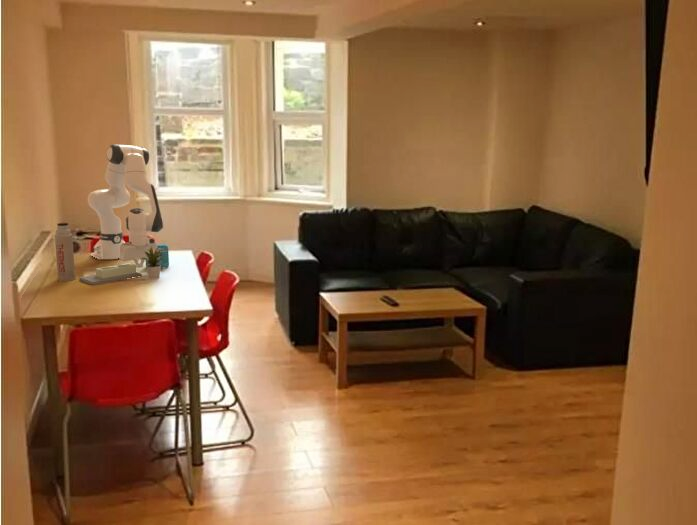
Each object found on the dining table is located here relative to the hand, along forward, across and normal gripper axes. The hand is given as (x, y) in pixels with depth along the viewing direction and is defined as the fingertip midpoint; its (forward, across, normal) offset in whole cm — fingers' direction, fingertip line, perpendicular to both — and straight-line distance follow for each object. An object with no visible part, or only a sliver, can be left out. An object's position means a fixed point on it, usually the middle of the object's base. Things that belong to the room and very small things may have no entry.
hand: (139, 267), depth 366 cm
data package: (+3, +15, +7) cm, 17 cm away
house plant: (+3, -1, -15) cm, 15 cm away
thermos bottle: (+3, -32, +14) cm, 35 cm away
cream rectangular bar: (+2, -13, 0) cm, 13 cm away
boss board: (+3, -16, 0) cm, 17 cm away
